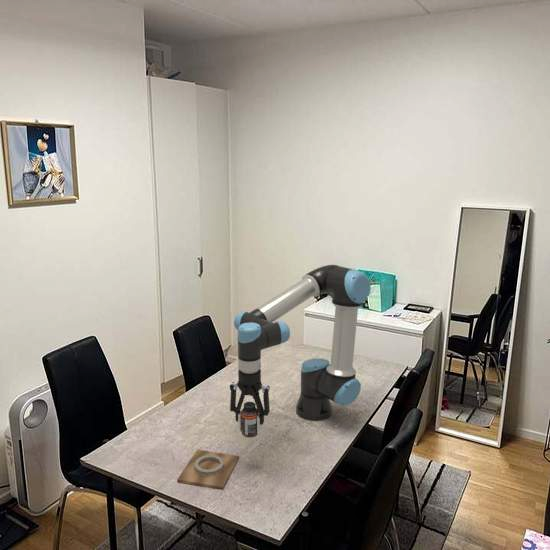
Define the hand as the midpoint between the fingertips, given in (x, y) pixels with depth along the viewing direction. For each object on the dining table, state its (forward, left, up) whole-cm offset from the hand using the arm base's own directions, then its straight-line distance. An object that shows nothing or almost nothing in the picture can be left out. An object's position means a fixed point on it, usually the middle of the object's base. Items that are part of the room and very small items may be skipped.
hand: (249, 430), depth 177 cm
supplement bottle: (0, 0, -1) cm, 1 cm away
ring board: (+13, +5, -14) cm, 20 cm away
